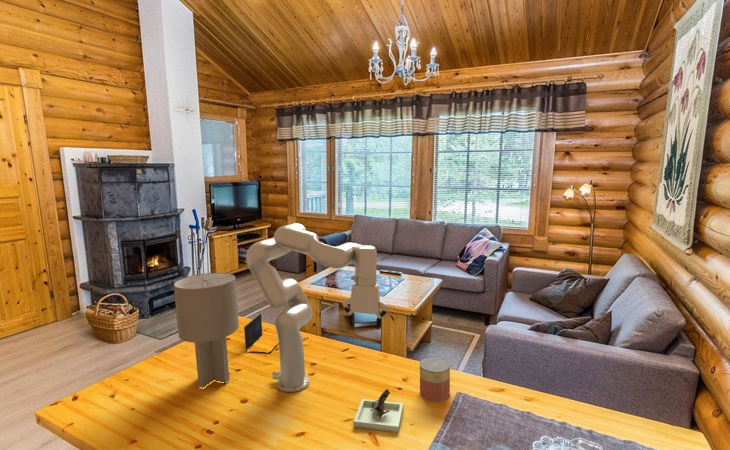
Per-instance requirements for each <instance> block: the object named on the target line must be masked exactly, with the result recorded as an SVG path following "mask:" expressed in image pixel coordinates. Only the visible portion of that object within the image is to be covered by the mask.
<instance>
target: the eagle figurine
mask: <svg viewBox="0 0 730 450" xmlns="http://www.w3.org/2000/svg"><path fill="white" fill-rule="evenodd" d="M389 395H390V389H388V388H387V389H385V390H383V392H382V393H381V394H380V396H379V398H378V399H376V400H377V401H374V402H373V403H372V409H371V410H370V411H373V410H374V409H376V410H377V413H378V414H377V415H376V416H379V419H380V418H381V417H382V415H383V414H385V413H388V412H389V410H388V411H387V408H385V407H384V402H385V401H387V398H388V397H389ZM383 410H385V411H386V412H384V411H383Z"/></svg>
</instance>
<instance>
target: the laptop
mask: <svg viewBox="0 0 730 450" xmlns="http://www.w3.org/2000/svg"><path fill="white" fill-rule="evenodd" d="M262 324H263V323H262V313H260V312H259V314H258V315H257V316H255V317H254V318H253V319H252V320H250V321H249V322H248V323H247V324H246V325H244V326H243V331H244V332H243V333H244V347H245V352H246V351H247V350H248V349H249V348H250V347H251V346H252V345H253V344H254V343H255V342H256V341H257V340H258V339H259V338H260V337H262V336H263V325H262ZM272 336H273V337H276V336H274V335H272ZM277 338H278V336H277Z"/></svg>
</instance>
